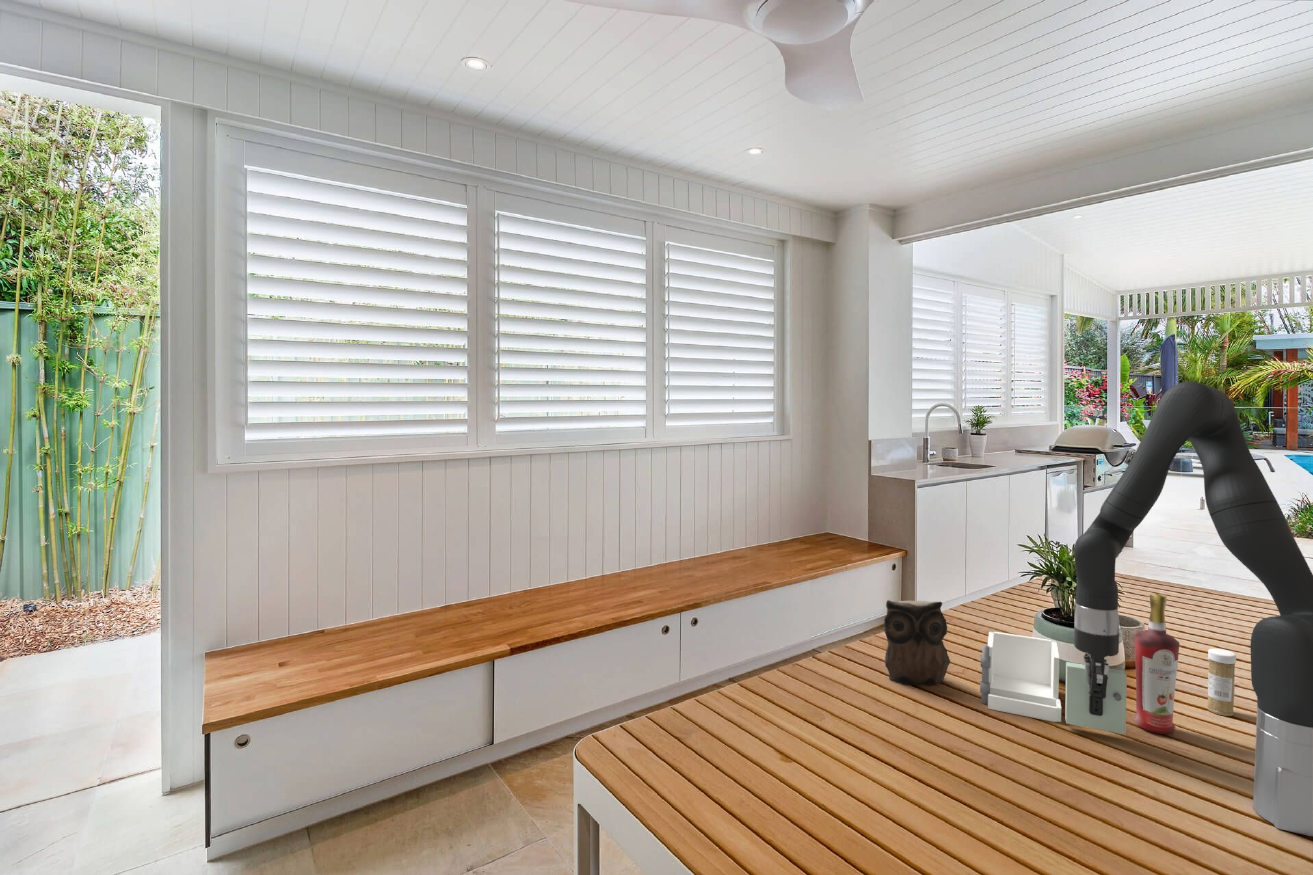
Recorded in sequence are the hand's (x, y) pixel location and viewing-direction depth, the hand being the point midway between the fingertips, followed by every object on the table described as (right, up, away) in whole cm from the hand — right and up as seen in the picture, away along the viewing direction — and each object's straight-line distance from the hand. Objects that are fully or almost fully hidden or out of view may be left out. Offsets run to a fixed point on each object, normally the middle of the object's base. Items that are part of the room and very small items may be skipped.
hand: (1094, 710), depth 132 cm
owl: (-25, -4, +29) cm, 38 cm away
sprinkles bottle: (+34, -4, +10) cm, 35 cm away
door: (0, -3, 0) cm, 3 cm away
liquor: (+14, -5, +2) cm, 15 cm away
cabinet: (-6, -4, +16) cm, 18 cm away
